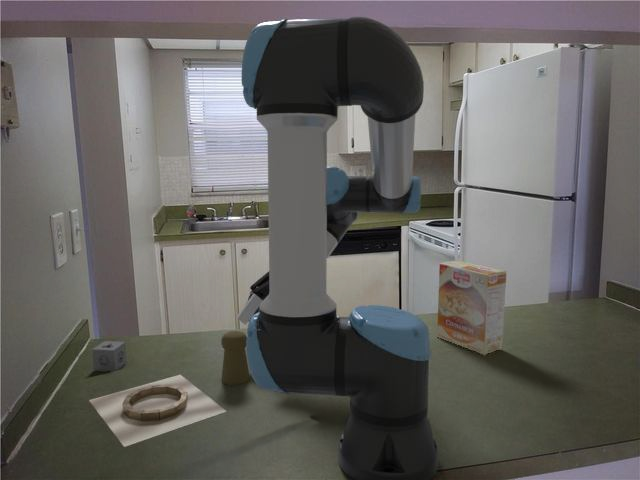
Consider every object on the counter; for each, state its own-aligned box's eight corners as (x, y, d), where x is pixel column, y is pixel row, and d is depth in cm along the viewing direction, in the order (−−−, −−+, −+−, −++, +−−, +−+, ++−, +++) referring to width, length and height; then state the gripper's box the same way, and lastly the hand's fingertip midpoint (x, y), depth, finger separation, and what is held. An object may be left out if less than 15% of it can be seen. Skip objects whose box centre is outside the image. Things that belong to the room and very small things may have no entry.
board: (226, 417, 92) (226, 411, 92) (124, 453, 81) (124, 446, 81) (180, 379, 108) (180, 374, 108) (89, 406, 97) (88, 400, 97)
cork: (245, 392, 102) (243, 339, 100) (216, 389, 103) (214, 336, 102) (254, 379, 108) (253, 328, 106) (227, 376, 109) (225, 327, 107)
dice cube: (93, 371, 113) (92, 349, 112) (106, 362, 118) (104, 341, 117) (115, 372, 112) (113, 350, 111) (126, 363, 117) (125, 342, 116)
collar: (197, 407, 93) (197, 400, 93) (136, 427, 87) (135, 419, 86) (172, 386, 102) (172, 379, 102) (115, 403, 95) (115, 395, 95)
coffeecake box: (435, 337, 132) (438, 262, 129) (455, 332, 136) (458, 259, 133) (483, 356, 120) (487, 274, 116) (503, 350, 123) (507, 270, 120)
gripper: (360, 269, 107) (302, 356, 101) (291, 252, 127) (239, 323, 120) (340, 247, 103) (279, 336, 97) (272, 232, 123) (217, 305, 116)
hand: (256, 329), depth 108 cm, fingers open, 13 cm apart
